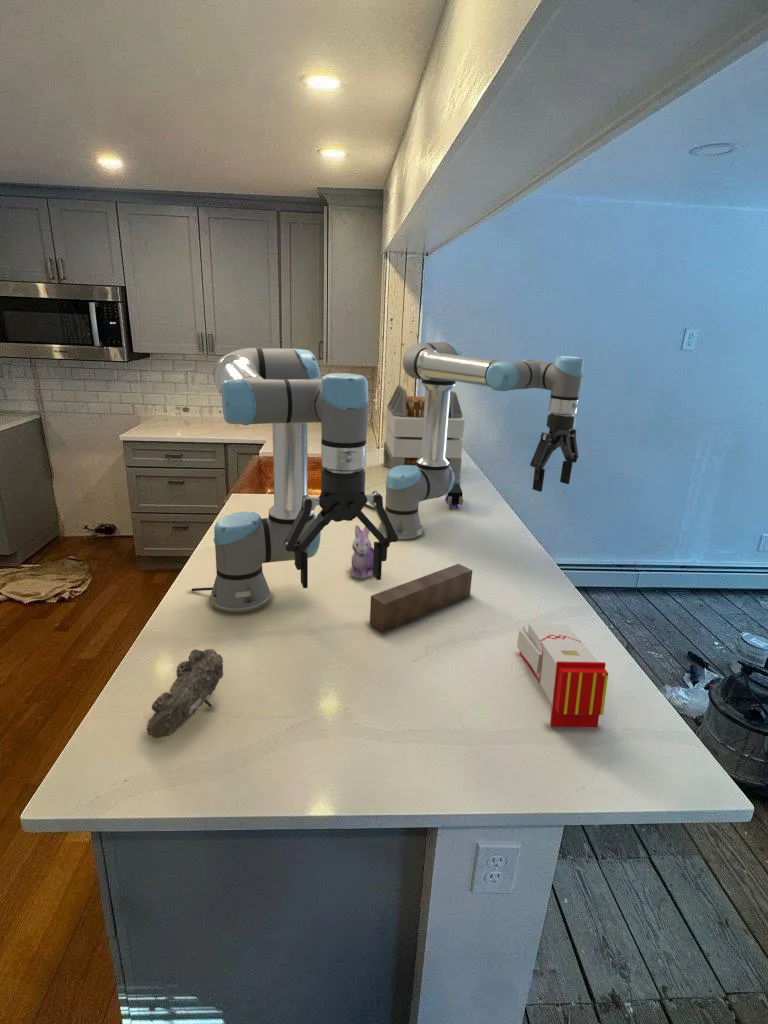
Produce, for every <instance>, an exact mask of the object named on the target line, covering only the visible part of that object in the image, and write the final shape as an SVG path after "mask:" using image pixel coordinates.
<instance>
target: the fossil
mask: <svg viewBox="0 0 768 1024" xmlns="http://www.w3.org/2000/svg"><path fill="white" fill-rule="evenodd" d="M223 659H224V658H223V657H222V655H221V654H219V653H218V652H217V651H216V650H214V649H213V648H211V649H210V648H207V649H204V650H200V649H197V648H196V649H192V650H191V651H190V653H189V655H188V660H185V661H181V662H180V663H179V664H178V665H177V667H176V679H174V681H173V683H172V686H171V687H170V690H169V692H163V693H161V694H160V696H157V698H156V699H155V700H154V701H153V703H152V705H151V710H152V711H153V712H154V713H153V715H152V716H151V717H150V718H149V719H148V721H147V725H146V726H147V727H146V733H147V736H151V737H152V738H153V739H159V738H163V737H164V738H165V737H167V736H168V737H171V736H172V735H173V734H174V733H175V732H176V731H178V730H179V729H180V728H181V727H182V726H183V725H184V724H185V723H186V722H187V721H188V720H189V719H190V718H192V717H193V716H194V715H195V713H197V711H198V708H200V707H201V706H203V704H204V703H205V704H206V705H207V706H208V707H209V708H211V707H213V705H212V704H211V703H210V701H208V699H207V698H208V696H211V695H212V694H213V693H214V692H215V690H216V687H217V686H218V684H219V682H220V680H221V679H222V678H223V676H224V664H223V662H224V661H223Z"/></svg>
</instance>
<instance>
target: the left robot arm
mask: <svg viewBox="0 0 768 1024" xmlns="http://www.w3.org/2000/svg"><path fill="white" fill-rule="evenodd" d="M315 356H316V355H315V354H314V353H313V352H312V351H311V350H308V349H301V348H295V347H292V348H288V347H287V348H286V347H283V348H281V347H280V348H277V347H275V348H270V347H269V348H261V347H260V348H259V347H247V348H240V349H236V350H234V351H231V352H228V353H227V354H225V355H223V356H222V357H221V358H220V359H219V360H218V361H217V362H216V364H215V366H214V369H213V372H212V374H213V375H212V377H213V382H214V385H215V387H216V388H217V390H218V392H219V393H220V394H221V407H222V414H223V419H224V421H225V422H226V423H227V424H230V425H241V426H248V425H249V426H250V425H263V424H264V425H268V424H272V457H273V458H272V461H273V464H272V465H273V466H272V468H273V505H272V506H270V508H269V509H268V517H264V518H262V516H260V514H259V513H258V512H254V511H240V512H234V513H231V514H228V515H225V516H223V517H222V518H220V519H218V520H217V521H216V523H215V525H214V528H213V529H214V531H213V532H214V533H213V534H214V535H213V543H214V550H215V553H214V554H215V568H216V570H215V571H216V575H215V579H214V583H213V586H212V587H195V588H191V592H200V591H201V592H203V591H211V593H210V603H211V606H212V607H213V608H214V609H216V610H217V611H220V612H222V613H226V614H246V613H247V614H248V613H251V612H254V611H258V610H260V609H262V608H264V607H265V606H266V605H268V603H269V602H270V600H271V590H270V587H269V584H268V582H267V580H266V576H265V575H264V572H263V564H267V563H278V562H288V561H294V566H295V569H296V570H297V571H300V583H301V586H302V588H303V589H308V588H309V575H308V574H309V572H308V571H309V569H308V568H309V566H308V563H309V559H311V558H313V557H314V556H315V555H316V554H317V553H318V551H319V547H320V544H321V536H322V531H323V530H324V528H325V527H326V526H328V525H329V524H330V523H331V521H334V522H335V523H338V522H343V521H347V522H351V521H353V520H355V519H358V520H359V521H360V522H361V523H362V524H363V525H364V526H365V527H367V528H368V530H369V533H370V534H372V535H373V537H374V538H375V539H376V540H377V541H373V549H374V555H373V576H374V578H375V580H376V581H381V580H382V567H383V565H382V564H383V562H386V561H387V558H388V548H389V547H390V546H391V545H390V544H391V543H397V541H399V540H398V537H397V535H396V533H395V531H394V529H393V526H392V524H391V522H390V520H389V518H388V516H387V514H386V512H385V507H384V502H383V501H384V500H383V495H382V494H380V492H378V491H377V490H373V491H372V493H367V494H366V470H365V469H364V468H366V465H367V464H366V463H367V461H366V460H367V433H368V413H369V411H368V410H369V402H370V401H369V400H370V396H369V385H368V384H369V382H368V379H367V378H366V377H365V376H364V375H361V374H356V373H348V372H336V373H333V372H332V373H327V374H325V375H323V376H321V372H320V368H319V364H318V360H317V358H316V357H315ZM311 423H312V424H313V423H321V425H320V426H321V441H320V442H321V444H320V447H321V449H320V459H321V460H320V465H321V466H322V467H323V468H322V469H321V470H320V494H319V497H311V496H309V492H308V491H309V490H308V489H309V488H308V487H309V486H308V485H309V476H308V472H309V471H308V469H309V468H308V467H309V466H308V465H309V464H308V462H309V461H308V457H309V456H308V455H309V454H308V424H311ZM367 503H369V505H370V506H372V507H374V508H375V510H374V511H375V512H376V515H377V516H378V518H379V521H380V523H382V525H383V527H384V529H385V531H386V533H387V534H386V535H382V534H381V533H380V531H379V528H377V526H375V524H374V523H373V522H372V521H371V520H370V519H369V518H368V517H367V515H366V514H365V513H364V512H363V509H364V508H365V507H366V506H365V504H367ZM317 506H319V507H320V508H321V510H320V511H319V513H318V514H316V513H314V510H315V509H316V507H317Z"/></svg>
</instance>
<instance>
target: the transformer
mask: <svg viewBox="0 0 768 1024" xmlns="http://www.w3.org/2000/svg"><path fill="white" fill-rule="evenodd" d="M407 394H408V393H407V390H406V389H404V388H403V387H402V385H399V384H398V385H397V386H396V388H395V390H394V392H393V394H392V395H391V398H390V400H389V402H388V404H387V405H386V413H385V414H386V415H385V423H386V428H385V438H384V442H383V466H384V467H388V468H389V470H390V469H392V468H394V467H396V466H401V465H404V466H405V465H413V466H416V462H417V459H419V458H420V457H421V451H422V435H423V420H424V404H425V396H415V395H414V396H413V395H412V396H411V395H407ZM464 429H465V419H464V418H463V411H462V408H461V405H460V402H459V398H458V395H457V392H455V391H453V390H451V391H450V404H449V417H448V429H447V442H446V455H445V458H446V459H447V460H448V461H449V466H450V467H451V468H452V470H453V471H452V472H453V473H454V483H455V484H460V483H461V472H462V461H463V460H462V453H463V442H464V441H463V440H462V439H463V438H464V431H465V430H464Z"/></svg>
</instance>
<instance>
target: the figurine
mask: <svg viewBox="0 0 768 1024" xmlns="http://www.w3.org/2000/svg"><path fill="white" fill-rule="evenodd" d="M369 534H370V531H369V530H368V528H367V527H366V526H365V527H364V528H363V530H362V529H361V528H360V526H359V525H358V524H356V525H355V526H354V535H355V536H354V539H353V542H352V544H351V545H352V546H351V547H352V551H353V554H352V555H351V568H350V573H351V576H352V577H353V578H356V579H361V580H362V579H366V578H371V577H373V576H374V575H373V555H374V547H372V543H371V540H370V539H369Z"/></svg>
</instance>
